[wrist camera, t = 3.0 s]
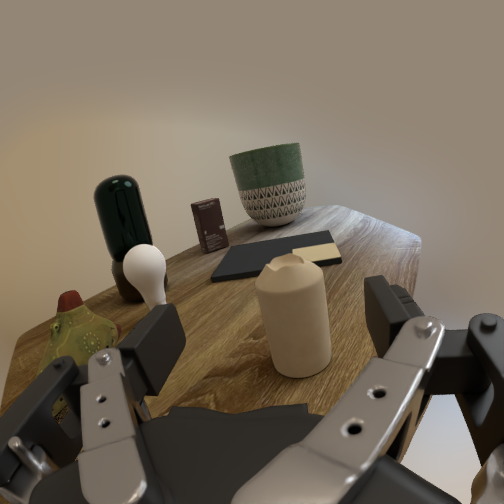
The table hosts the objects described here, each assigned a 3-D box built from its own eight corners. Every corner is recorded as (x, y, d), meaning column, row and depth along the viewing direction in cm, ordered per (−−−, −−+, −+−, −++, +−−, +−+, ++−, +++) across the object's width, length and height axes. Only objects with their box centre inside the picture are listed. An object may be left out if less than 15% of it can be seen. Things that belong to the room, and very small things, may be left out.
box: (208, 254, 69) (195, 203, 66) (201, 251, 73) (189, 204, 69) (230, 245, 72) (219, 197, 68) (222, 243, 75) (211, 197, 72)
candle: (338, 370, 23) (328, 263, 20) (276, 384, 23) (252, 279, 21) (324, 337, 29) (311, 243, 26) (271, 348, 29) (250, 256, 26)
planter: (233, 237, 80) (215, 159, 74) (262, 219, 96) (249, 154, 90) (301, 231, 71) (284, 143, 65) (320, 213, 87) (307, 142, 81)
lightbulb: (152, 309, 44) (130, 243, 41) (186, 305, 43) (165, 235, 40) (136, 328, 39) (109, 256, 36) (173, 325, 38) (147, 248, 35)
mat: (329, 234, 63) (328, 229, 63) (341, 262, 46) (341, 256, 46) (232, 250, 67) (231, 245, 67) (212, 282, 50) (210, 276, 50)
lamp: (117, 297, 53) (84, 187, 47) (158, 279, 58) (129, 173, 52) (130, 310, 46) (91, 180, 39) (178, 288, 51) (145, 165, 45)
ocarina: (47, 449, 17) (-16, 362, 14) (21, 433, 18) (-32, 353, 15) (140, 340, 35) (112, 269, 33) (111, 339, 37) (84, 273, 34)
